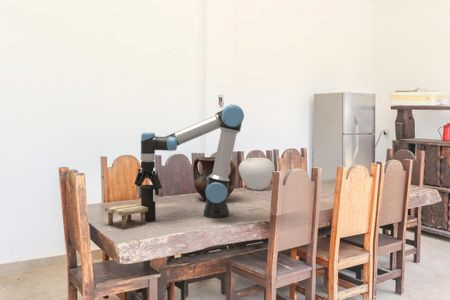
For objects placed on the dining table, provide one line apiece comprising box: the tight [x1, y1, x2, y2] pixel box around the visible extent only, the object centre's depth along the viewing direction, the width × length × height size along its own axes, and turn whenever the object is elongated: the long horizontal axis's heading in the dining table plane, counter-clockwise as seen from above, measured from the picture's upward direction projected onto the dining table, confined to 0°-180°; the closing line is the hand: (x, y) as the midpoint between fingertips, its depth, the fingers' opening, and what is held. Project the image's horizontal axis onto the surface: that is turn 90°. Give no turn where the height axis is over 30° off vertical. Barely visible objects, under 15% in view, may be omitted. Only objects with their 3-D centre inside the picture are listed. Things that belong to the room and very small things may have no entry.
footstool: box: [104, 202, 148, 230], centre depth 234 cm, size 16×16×9 cm
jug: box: [192, 156, 237, 203], centre depth 301 cm, size 32×28×30 cm
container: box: [140, 184, 157, 223], centre depth 242 cm, size 9×9×20 cm
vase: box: [238, 157, 276, 191], centre depth 347 cm, size 28×27×25 cm
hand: (147, 199), depth 241 cm, fingers open, 13 cm apart
